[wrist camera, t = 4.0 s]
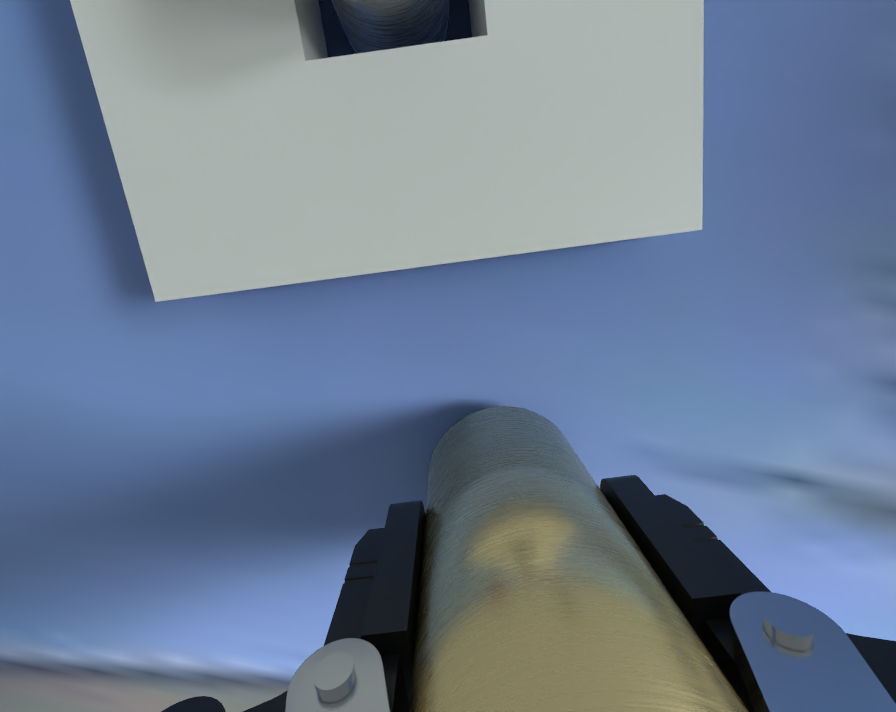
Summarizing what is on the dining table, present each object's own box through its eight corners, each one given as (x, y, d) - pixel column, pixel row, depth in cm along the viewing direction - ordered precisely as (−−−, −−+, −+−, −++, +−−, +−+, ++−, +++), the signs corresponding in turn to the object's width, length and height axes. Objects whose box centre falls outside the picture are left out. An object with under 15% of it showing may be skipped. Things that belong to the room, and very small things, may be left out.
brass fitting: (570, 397, 12) (973, 842, 3) (579, 531, 12) (901, 1184, 4) (418, 416, 12) (335, 902, 3) (438, 547, 13) (423, 1222, 4)
